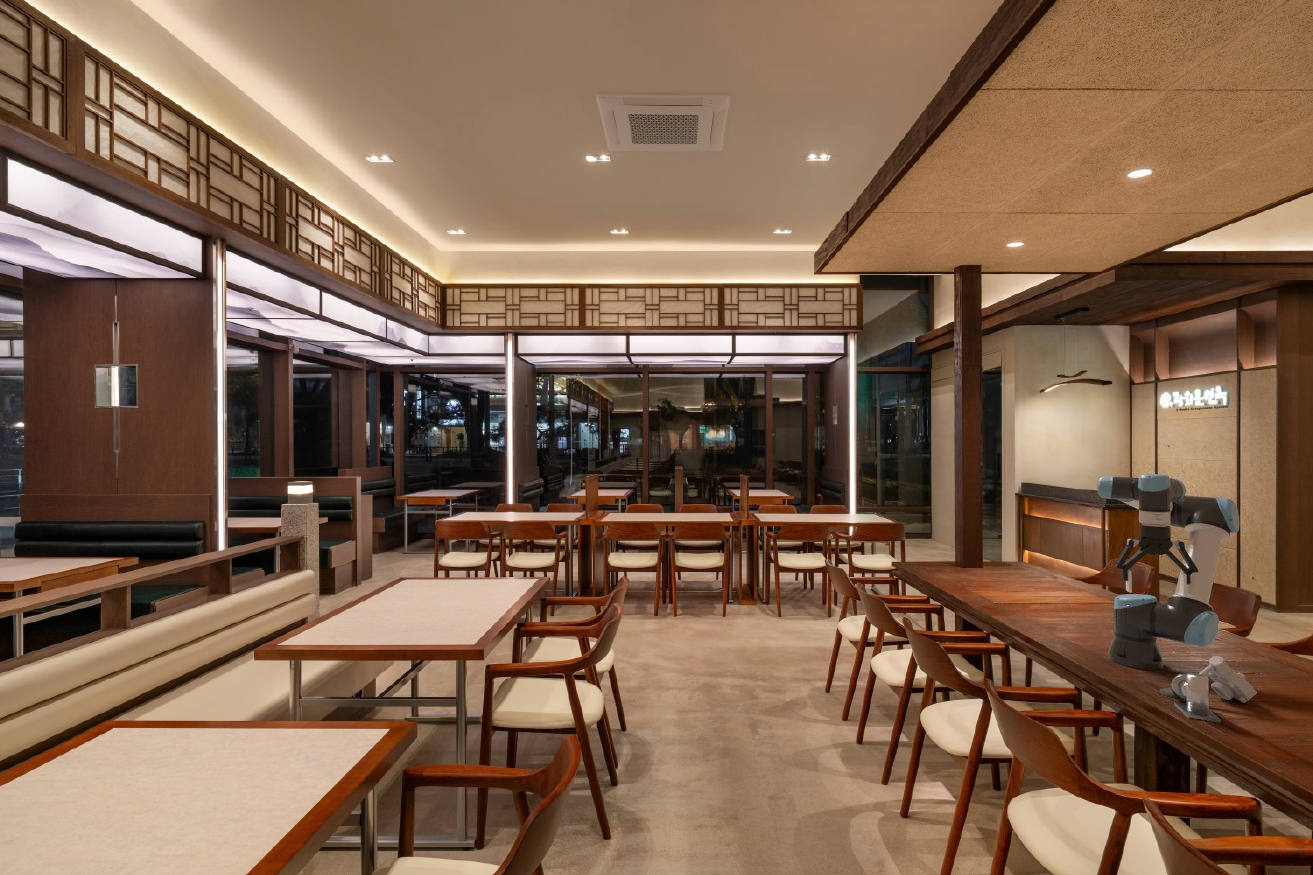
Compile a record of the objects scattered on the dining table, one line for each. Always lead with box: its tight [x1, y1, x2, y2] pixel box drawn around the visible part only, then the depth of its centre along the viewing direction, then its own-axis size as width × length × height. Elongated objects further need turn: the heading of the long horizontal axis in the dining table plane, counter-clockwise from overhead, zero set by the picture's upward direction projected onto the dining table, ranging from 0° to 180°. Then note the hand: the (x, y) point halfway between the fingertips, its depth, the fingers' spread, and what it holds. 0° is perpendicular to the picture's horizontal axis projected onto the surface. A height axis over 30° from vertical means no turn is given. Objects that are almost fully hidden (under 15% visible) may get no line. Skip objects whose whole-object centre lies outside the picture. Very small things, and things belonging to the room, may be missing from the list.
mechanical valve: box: [1171, 655, 1258, 704], centre depth 179 cm, size 10×18×15 cm
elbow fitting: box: [1170, 672, 1222, 723], centre depth 171 cm, size 12×7×11 cm, turn 159°
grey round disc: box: [1159, 688, 1181, 700], centre depth 183 cm, size 6×6×1 cm
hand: (1155, 593), depth 187 cm, fingers open, 13 cm apart
